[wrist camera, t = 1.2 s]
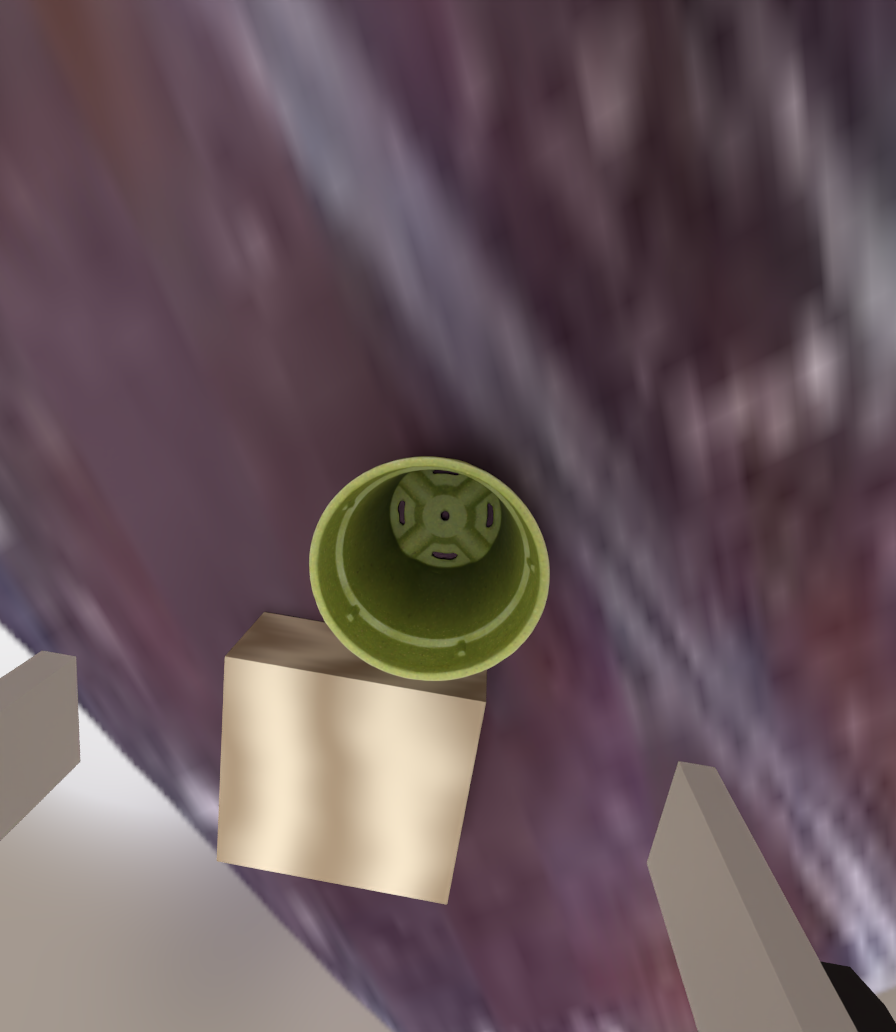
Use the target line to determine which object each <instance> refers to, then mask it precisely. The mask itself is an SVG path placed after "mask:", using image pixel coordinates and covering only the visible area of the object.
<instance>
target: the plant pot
mask: <svg viewBox="0 0 896 1032" xmlns="http://www.w3.org/2000/svg"><path fill="white" fill-rule="evenodd" d="M435 470H445V471H451V472H455V473H459V475H451V474H438V473H437V474H434V473H433V471H435ZM400 501H404V502H405V511H404V517H405V524H404V525H402V524H400V522H399V513H398V506H399V502H400ZM488 503H489V504H490V505H492V506H493V512H494V513H493V519H494V520H493V525H491V527H489V528H487V527H486V523H487V504H488ZM443 511H447V512H448V513H449V515H450V516H449V519H448V520H447V521H444V520H442V519H441V513H442V512H443ZM433 552H440V553H456V554H457V557H456V558H454V559H451V560H445V559H438V558H435V557H433V555H432V553H433ZM309 567H310V581H311V586H312V591H313V594H314V597H315V600H316V604H317V606H318V609H319V611H320V613H321V615H322V617H323V619H324V621H325V623H326V624H327V625H328V627H329V628H330V629H331V630H332V632H333V633H334V634H335V636H336V637H337V638H338V639H339V640H340V642H341V643H342V644H343V645H344V646H345V647H346V648H347V649H349V650H350V651H351V652H352V653H354V654H355V655H356V656H358V657H359V658H360V659H362V660H363V661H365V662H366V663H368V664H370V665H371V666H374V667H376V668H378V669H380V670H382V671H384V672H387V673H390V674H393V675H396V676H400V677H403V678H408V679H415V680H424V681H445V680H453V679H459V678H463V677H467V676H470V675H473V674H476V673H479V672H482V671H484V670H486V669H489V668H491V667H492V666H494V665H496V664H498V663H499V662H501V661H502V660H504V659H505V658H507V657H508V656H509V655H511V654H513V653H514V652H515V651H516V650H517V649H518V648H519V647H520V646H521V645H522V644H523V643H524V641H525V640H526V639H527V638H528V637H529V635H530V634H531V633H532V631H533V630H534V628H535V626H536V625H537V623H538V621H539V619H540V617H541V615H542V612H543V610H544V607H545V603H546V600H547V596H548V589H549V578H550V568H549V558H548V553H547V549H546V545H545V542H544V539H543V536H542V534H541V531H540V529H539V527H538V525H537V523H536V521H535V519H534V517H533V516H532V514H531V512H530V511H529V509H528V508H527V507H526V505H525V504H524V503H523V502H522V500H521V499H520V498H519V497H518V496H517V495H516V494H515V493H514V492H513V491H512V490H511V489H510V488H509V487H508V486H507V485H505V484H504V483H503V482H501V481H500V480H499V479H497V478H496V477H494V476H493V475H491V474H490V473H488V472H486V471H484V470H482V469H480V468H478V467H476V466H473V465H471V464H469V463H467V462H464V461H461V460H457V459H450V458H443V457H433V456H420V457H410V458H403V459H399V460H394V461H391V462H388V463H385V464H382V465H380V466H377V467H375V468H373V469H371V470H369V471H367V472H365V473H363V474H361V475H360V476H358V477H357V478H355V479H354V480H352V481H351V482H350V483H349V484H347V485H346V486H345V487H344V488H343V489H342V490H341V491H340V492H339V493H338V494H337V495H336V496H335V497H334V498H333V499H332V501H331V502H330V503H329V505H328V506H327V507H326V509H325V511H324V512H323V514H322V516H321V518H320V520H319V522H318V524H317V527H316V529H315V532H314V535H313V539H312V542H311V548H310V556H309Z"/></svg>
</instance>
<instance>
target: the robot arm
mask: <svg viewBox="0 0 896 1032" xmlns="http://www.w3.org/2000/svg"><path fill="white" fill-rule="evenodd" d="M79 743H80V742H79V719H78V693H77V669H76V657H75V656H69V655H64V654H58V653H52V652H46V651H41V652H39V653H38V654H36V655H35V656H33V657H32V658H30V659H29V660H27V661H26V662H24V663H23V664H21V665H20V666H18V667H17V668H15V669H14V670H12V671H11V672H9V673H8V674H6V675H5V676H3V677H1V678H0V841H1V840H2V839H3V838H4V837H5V836H6V835H7V834H8V833H9V832H10V831H11V830H12V829H13V828H14V827H15V826H16V825H17V824H18V823H19V822H20V821H21V820H22V819H23V818H24V817H25V816H26V815H27V814H28V813H29V812H30V811H31V810H32V809H33V808H34V807H35V806H36V805H37V804H38V803H39V802H40V801H41V800H42V799H43V798H44V797H45V796H46V795H47V794H48V793H49V792H50V791H51V790H52V789H53V788H54V787H55V786H56V785H57V784H58V783H59V782H60V781H61V780H62V779H63V778H64V777H65V776H66V775H67V774H68V773H69V772H70V771H71V770H72V769H73V768H74V767H75V766H76V765H77V764H78V763H79V762H80V745H79ZM647 866H648V869H649V872H650V875H651V879H652V882H653V885H654V888H655V892H656V895H657V898H658V902H659V905H660V908H661V911H662V915H663V918H664V921H665V924H666V928H667V931H668V934H669V938H670V941H671V944H672V947H673V951H674V954H675V957H676V961H677V964H678V967H679V970H680V974H681V977H682V980H683V983H684V987H685V990H686V993H687V997H688V1000H689V1003H690V1006H691V1010H692V1013H693V1016H694V1019H695V1023H696V1026H697V1029H698V1032H896V1023H895V1021H894V1020H893V1018H892V1016H891V1015H890V1013H889V1011H888V1010H887V1008H886V1006H885V1005H884V1004H883V1003H882V1002H881V1001H880V999H878V997H877V996H876V995H875V994H874V993H873V992H872V991H871V990H870V988H869V987H868V986H867V985H866V984H865V983H864V982H863V981H862V980H861V979H860V977H859V976H858V975H857V974H856V973H855V972H854V971H853V970H852V969H851V968H850V967H848V966H842V965H837V964H831V963H826V962H820V961H819V959H818V957H817V955H816V953H815V952H814V950H813V948H812V946H811V944H810V942H809V940H808V939H807V937H806V935H805V933H804V931H803V929H802V927H801V926H800V924H799V922H798V920H797V918H796V916H795V915H794V913H793V911H792V909H791V907H790V905H789V903H788V902H787V900H786V898H785V896H784V894H783V892H782V891H781V889H780V887H779V885H778V883H777V881H776V879H775V878H774V876H773V874H772V872H771V870H770V868H769V866H768V865H767V863H766V861H765V859H764V857H763V855H762V854H761V852H760V850H759V848H758V846H757V844H756V842H755V841H754V839H753V837H752V835H751V833H750V831H749V829H748V828H747V826H746V824H745V822H744V820H743V818H742V817H741V815H740V813H739V811H738V809H737V807H736V805H735V804H734V802H733V800H732V798H731V796H730V794H729V793H728V791H727V789H726V787H725V785H724V783H723V781H722V780H721V778H720V776H719V774H718V772H717V770H716V768H715V767H709V766H703V765H697V764H692V763H686V762H680V761H679V762H678V765H677V768H676V771H675V775H674V778H673V781H672V784H671V787H670V791H669V794H668V797H667V800H666V803H665V806H664V810H663V813H662V816H661V819H660V822H659V826H658V829H657V832H656V835H655V838H654V842H653V845H652V848H651V851H650V854H649V858H648V861H647Z"/></svg>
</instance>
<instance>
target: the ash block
mask: <svg viewBox="0 0 896 1032" xmlns="http://www.w3.org/2000/svg"><path fill="white" fill-rule="evenodd" d="M486 682H487V669H486V670H484V671H482V672H479V673H476V674H473V675H470V676H467V677H463V678H459V679H453V680H445V681H424V680H415V679H408V678H403V677H400V676H396V675H393V674H390V673H387V672H384V671H382V670H380V669H378V668H376V667H374V666H371V665H370V664H368V663H366V662H365V661H363V660H362V659H360V658H359V657H358V656H356V655H355V654H354V653H352V652H351V651H350V650H349V649H347V648H346V647H345V646H344V645H343V644H342V643H341V642H340V640H339V639H338V638H337V637H336V636H335V634H334V633H333V632H332V630H331V629H330V628H329V627H328V625H327V624H326V623H325V622H319V621H314V620H308V619H302V618H296V617H290V616H285V615H279V614H273V613H267V612H264V613H263V614H262V615H261V616H260V617H259V618H258V620H257V621H256V622H255V623H254V624H253V625H252V626H251V628H250V629H249V630H248V631H247V632H246V633H245V634H244V635H243V637H242V638H241V639H240V640H239V641H238V642H237V643H236V644H235V646H234V647H233V648H232V649H231V650H230V651H229V652H228V654H227V655H226V656H225V668H224V693H223V718H222V744H221V769H220V794H219V819H218V845H217V861H219V862H225V863H230V864H235V865H240V866H246V867H251V868H256V869H262V870H267V871H272V872H278V873H283V874H288V875H294V876H299V877H304V878H309V879H315V880H320V881H325V882H331V883H336V884H341V885H347V886H352V887H357V888H362V889H368V890H373V891H378V892H384V893H389V894H394V895H400V896H405V897H410V898H415V899H421V900H426V901H431V902H437V903H442V904H447V901H448V896H449V891H450V886H451V881H452V875H453V870H454V865H455V860H456V855H457V850H458V844H459V839H460V834H461V829H462V824H463V819H464V813H465V808H466V803H467V798H468V793H469V787H470V782H471V777H472V772H473V767H474V762H475V756H476V751H477V746H478V741H479V736H480V731H481V725H482V720H483V715H484V710H485V705H486Z"/></svg>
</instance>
